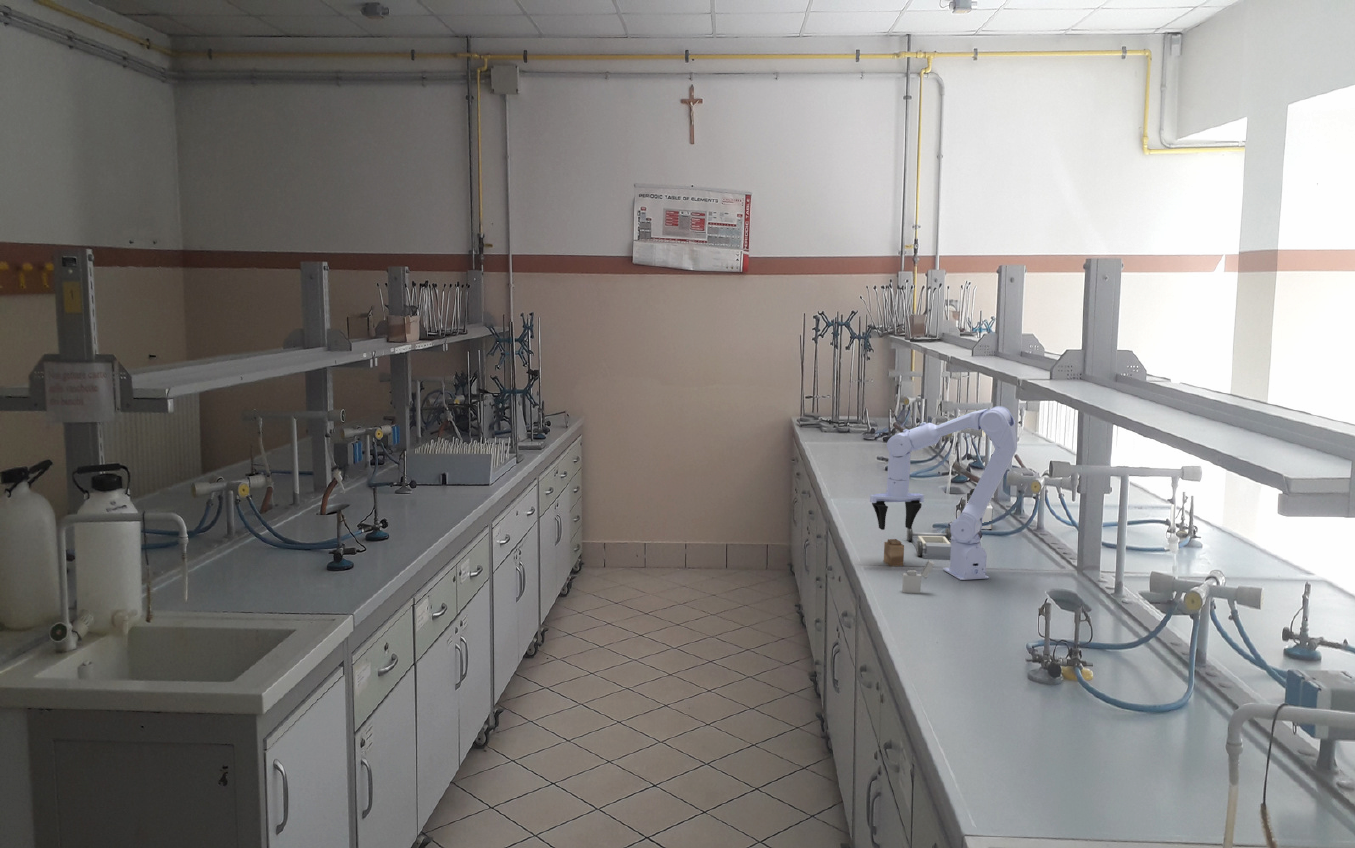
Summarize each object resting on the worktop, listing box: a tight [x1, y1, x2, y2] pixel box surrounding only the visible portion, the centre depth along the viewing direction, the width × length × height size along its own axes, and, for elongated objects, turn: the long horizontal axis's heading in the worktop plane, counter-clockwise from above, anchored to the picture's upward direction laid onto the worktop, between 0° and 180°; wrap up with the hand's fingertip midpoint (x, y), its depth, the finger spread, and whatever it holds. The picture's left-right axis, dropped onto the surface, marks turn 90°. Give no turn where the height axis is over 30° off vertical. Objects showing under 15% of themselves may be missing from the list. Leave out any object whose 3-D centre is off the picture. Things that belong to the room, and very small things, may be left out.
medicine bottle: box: [969, 487, 994, 529], centre depth 298 cm, size 7×7×12 cm
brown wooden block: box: [883, 538, 905, 567], centre depth 257 cm, size 4×4×6 cm
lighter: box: [901, 559, 935, 594], centre depth 232 cm, size 7×2×8 cm, turn 84°
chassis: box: [906, 526, 952, 560], centre depth 272 cm, size 22×12×4 cm, turn 176°
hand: (895, 528), depth 256 cm, fingers open, 7 cm apart
